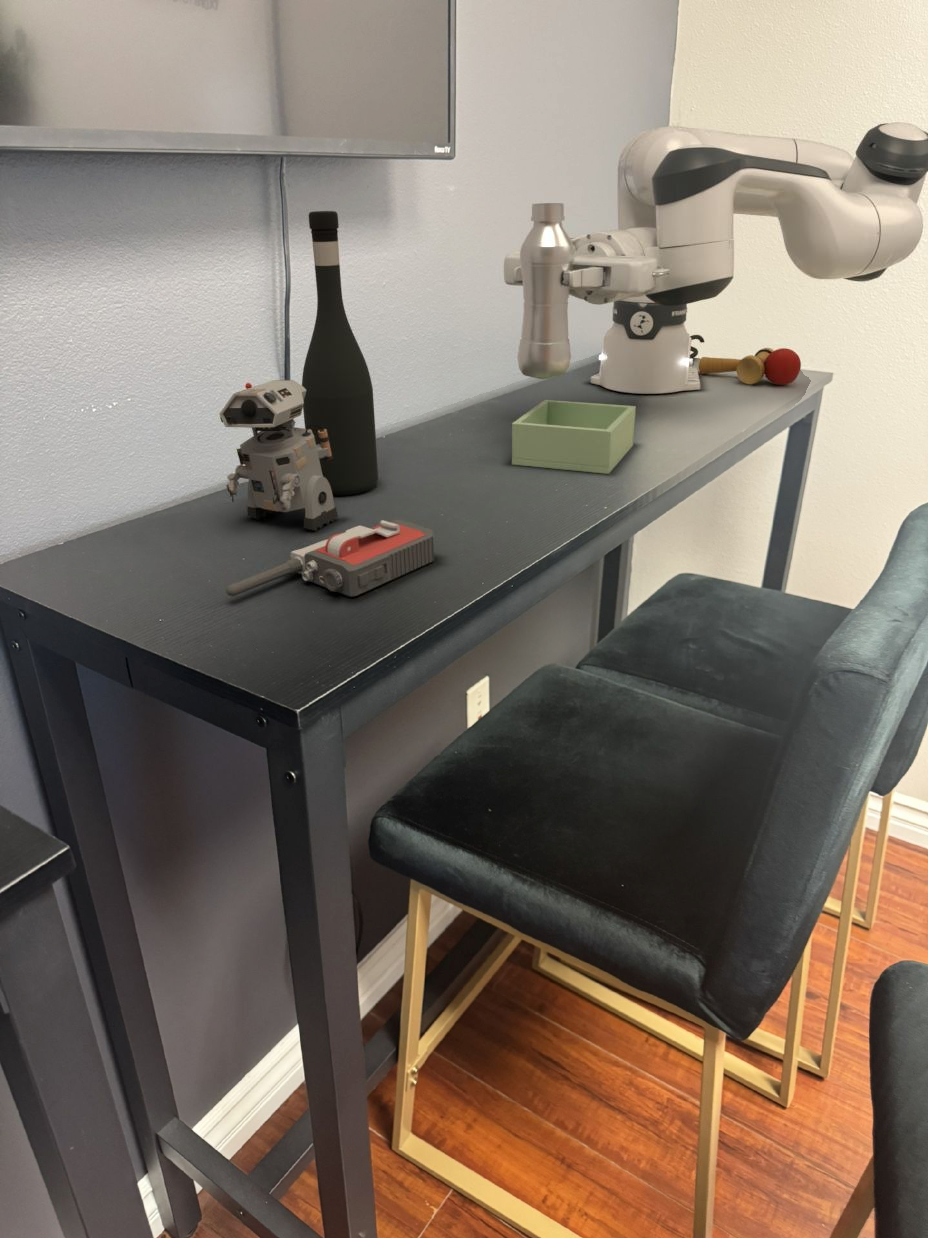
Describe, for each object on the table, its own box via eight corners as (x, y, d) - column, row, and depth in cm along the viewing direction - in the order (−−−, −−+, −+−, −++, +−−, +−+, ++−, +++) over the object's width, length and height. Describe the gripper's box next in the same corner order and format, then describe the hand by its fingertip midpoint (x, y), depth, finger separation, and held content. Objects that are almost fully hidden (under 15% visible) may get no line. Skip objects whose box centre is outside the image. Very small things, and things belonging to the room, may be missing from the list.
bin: (543, 437, 125) (544, 399, 123) (633, 445, 121) (635, 406, 119) (511, 464, 114) (511, 423, 112) (608, 474, 110) (611, 431, 107)
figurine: (211, 537, 93) (188, 391, 86) (282, 504, 102) (266, 369, 95) (280, 552, 89) (262, 400, 82) (347, 516, 98) (336, 376, 91)
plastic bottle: (509, 375, 115) (510, 203, 106) (557, 370, 117) (562, 202, 108) (528, 385, 110) (531, 205, 101) (579, 380, 112) (586, 203, 103)
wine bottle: (331, 474, 111) (308, 209, 98) (389, 480, 109) (373, 209, 96) (298, 494, 105) (269, 212, 91) (360, 501, 102) (338, 212, 89)
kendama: (689, 385, 160) (787, 384, 148) (691, 348, 158) (790, 344, 146) (711, 386, 165) (806, 385, 153) (713, 350, 164) (810, 346, 152)
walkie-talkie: (384, 537, 92) (221, 602, 78) (381, 496, 90) (214, 556, 76) (448, 557, 87) (286, 631, 73) (447, 514, 85) (280, 582, 71)
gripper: (673, 298, 112) (615, 311, 103) (541, 288, 124) (477, 299, 115) (678, 244, 109) (618, 252, 100) (542, 238, 121) (477, 246, 112)
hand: (541, 277), depth 107 cm, fingers closed on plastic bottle, 6 cm apart
